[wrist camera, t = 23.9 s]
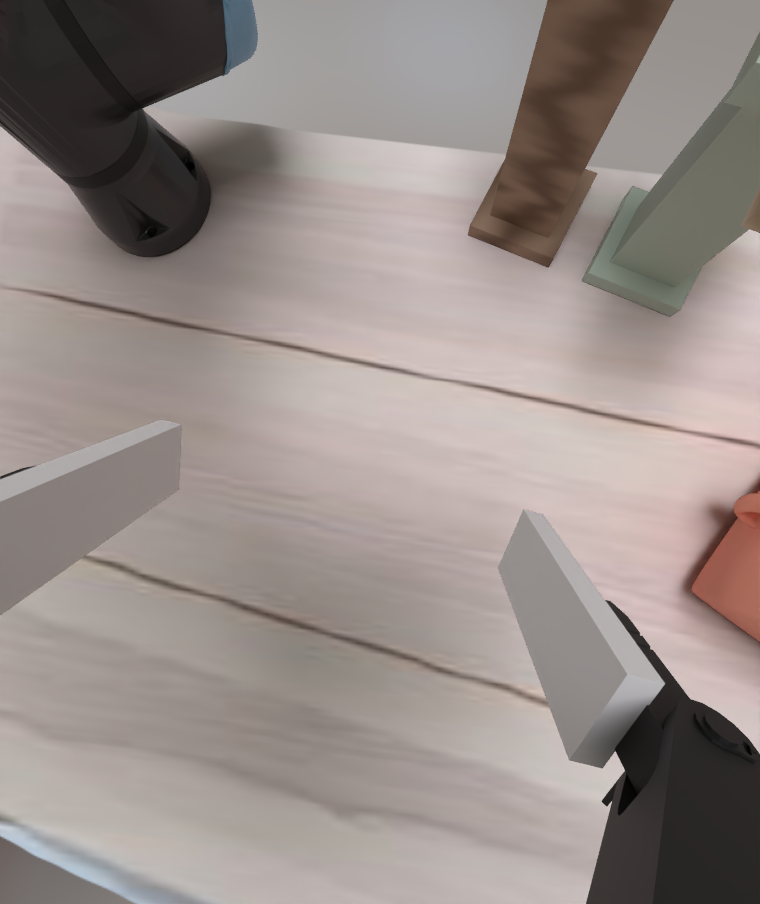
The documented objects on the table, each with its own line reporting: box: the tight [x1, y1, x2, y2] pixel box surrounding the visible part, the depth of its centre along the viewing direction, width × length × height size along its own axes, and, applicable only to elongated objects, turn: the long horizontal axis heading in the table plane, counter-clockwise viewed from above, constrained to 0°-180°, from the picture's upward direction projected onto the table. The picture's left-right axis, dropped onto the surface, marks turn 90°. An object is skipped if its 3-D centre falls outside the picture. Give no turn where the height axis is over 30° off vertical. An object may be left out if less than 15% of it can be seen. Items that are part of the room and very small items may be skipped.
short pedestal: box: [582, 33, 760, 316], centre depth 29 cm, size 10×11×20 cm
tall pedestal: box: [468, 0, 674, 267], centre depth 26 cm, size 10×11×31 cm
